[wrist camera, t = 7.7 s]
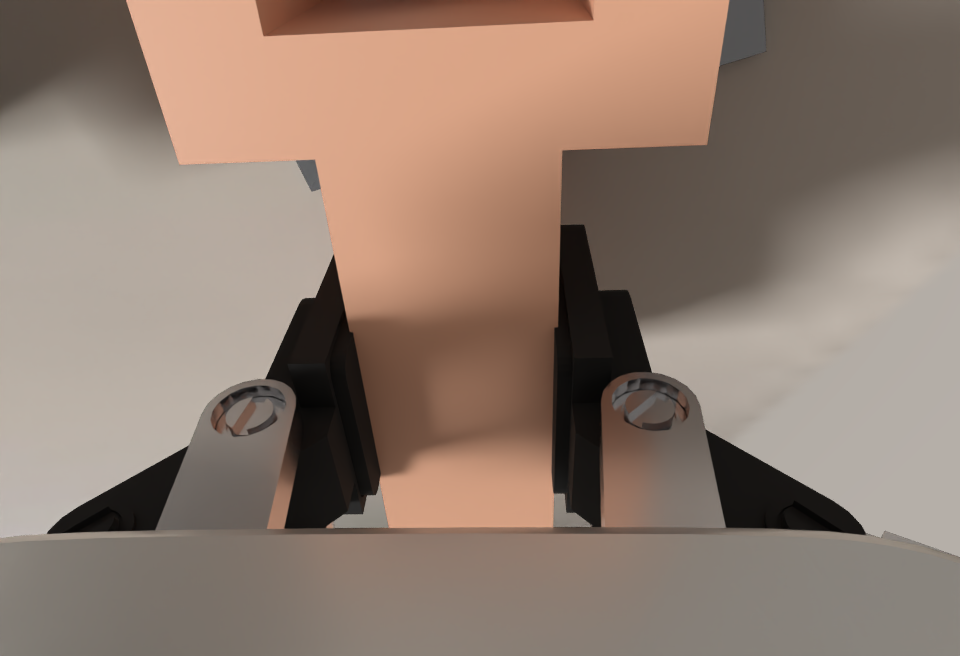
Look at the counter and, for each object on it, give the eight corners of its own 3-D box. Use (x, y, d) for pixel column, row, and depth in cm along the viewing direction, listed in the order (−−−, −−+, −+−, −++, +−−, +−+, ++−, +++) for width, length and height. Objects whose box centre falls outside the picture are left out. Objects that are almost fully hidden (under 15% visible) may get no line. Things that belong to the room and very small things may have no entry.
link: (150, -479, 8) (-125, -768, 4) (700, -530, 7) (866, -885, 4) (350, 422, 16) (309, 563, 12) (612, 418, 15) (642, 562, 12)
